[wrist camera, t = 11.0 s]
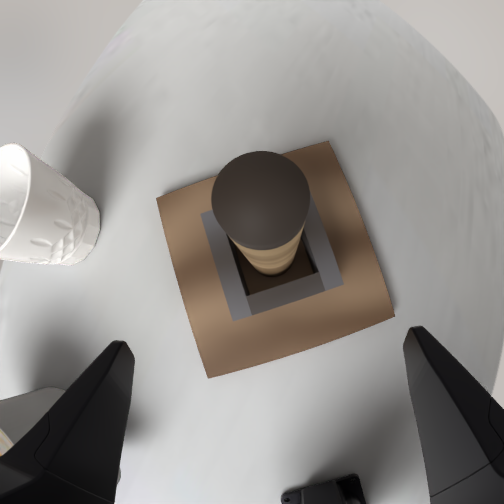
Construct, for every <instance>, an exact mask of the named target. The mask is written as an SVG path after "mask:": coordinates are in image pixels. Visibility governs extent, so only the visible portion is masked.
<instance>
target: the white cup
mask: <svg viewBox="0 0 504 504" xmlns="http://www.w3.org/2000/svg"><path fill="white" fill-rule="evenodd" d="M99 231H100V212H99V210H98V208H97V206H96V204H95V202H94V200H93V199H92V198H91V197H89V196H88V195H86V194H85V193H83V192H82V191H81V190H79V189H78V188H77V187H76V186H75V185H74V183H72V182H71V181H69V180H68V179H67V178H66V177H64V176H63V175H61V174H60V173H59V172H58V171H56V170H55V169H54V168H52V167H51V166H49V165H48V164H46V163H45V162H43V161H42V160H41V159H39V158H38V157H36V156H35V155H34V154H32V153H31V152H30V151H28V150H27V149H26V148H24V147H23V146H22V145H20V144H17V143H9V144H6V145H3V146H1V147H0V259H2V260H10V261H17V262H23V263H34V264H45V265H48V264H60V265H69V266H72V265H74V264H76V263H78V262H80V261H82V260H84V259H85V258H86V256H87V255H88V254H89V253H90V251H91V250H92V249H93V248H94V246H95V243H96V240H97V237H98V234H99Z"/></svg>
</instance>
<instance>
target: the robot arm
mask: <svg viewBox="0 0 504 504" xmlns="http://www.w3.org/2000/svg"><path fill="white" fill-rule="evenodd" d="M403 351H404V357H405V363H406V370H407V377H408V385H409V391H410V396H411V400H412V404H413V408H414V413H415V417H416V422H417V426H418V431H419V436H420V441H421V446H422V451H423V457H424V462H425V468H426V474H427V480H428V487H429V494H430V502H431V504H504V409H503V408H502V407H501V406H500V405H499V404H498V403H497V402H496V401H495V400H494V398H493V397H491V395H490V394H489V393H488V392H487V391H486V390H485V389H484V388H483V387H482V386H481V385H480V383H479V382H478V381H477V380H476V379H475V378H474V377H473V376H472V375H471V374H470V373H469V372H468V371H467V370H466V369H465V368H464V367H463V366H462V365H461V364H460V363H459V362H458V361H457V360H456V359H455V358H454V357H453V356H452V355H451V354H450V353H449V351H448V350H447V349H446V348H445V347H444V346H443V345H441V344H440V343H439V342H438V341H437V340H436V339H435V338H434V337H433V336H432V335H431V334H430V333H429V332H428V331H427V330H426V329H425V328H424V327H423V326H414V327H411V328H410V329H409V330H408V333H407V336H406V338H405V341H404V344H403ZM134 364H135V358H134V355H133V353H132V351H131V350H130V348H129V346H128V345H127V343H126V342H125V341H118V340H115V341H113V342H111V343H110V344H109V345H108V346H107V347H106V349H105V350H104V351H103V352H102V353H101V354H100V355H99V356H98V357H97V358H96V359H95V360H94V361H93V362H92V363H91V364H90V365H89V366H88V368H87V369H86V370H85V371H84V372H83V373H82V374H81V375H80V376H79V377H78V378H77V379H76V380H75V382H74V383H73V384H72V385H71V386H70V387H69V388H68V389H67V390H66V391H65V392H64V393H63V395H62V396H61V397H60V398H59V399H58V400H57V401H56V402H55V403H54V404H53V406H52V407H51V408H50V409H49V411H47V412H46V413H45V414H44V415H43V417H42V418H41V419H40V420H39V421H38V422H37V423H36V424H35V425H34V426H33V427H32V428H31V429H30V430H29V431H28V432H27V433H26V434H25V435H24V436H23V437H22V438H21V439H20V440H19V441H18V442H16V443H15V444H14V445H13V446H12V447H11V448H10V449H9V450H8V451H7V452H6V453H4V454H3V455H2V456H0V504H114V502H115V495H116V487H117V480H118V473H119V466H120V460H121V453H122V447H123V441H124V436H125V430H126V425H127V419H128V414H129V409H130V403H131V395H132V384H133V374H134ZM354 478H355V480H354V481H351V479H354ZM285 498H289V499H288V500H286V499H285ZM281 503H282V504H366V502H365V498H364V494H363V491H362V487H361V483H360V479H359V477H358V475H357V474H351V475H348V476H345V477H342V478H339V479H336V480H331V481H327V482H324V483H321V484H317V485H314V486H310V487H306V488H303V489H301V490H297V491H293V492H289V493H285V494H283V495H282V496H281Z"/></svg>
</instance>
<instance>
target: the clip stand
mask: <svg viewBox="0 0 504 504" xmlns="http://www.w3.org/2000/svg"><path fill="white" fill-rule="evenodd" d="M281 155H282V156H284V157H286V158H288V159H290V160H291V161H293V162H294V163H295V164H296V165H297V166H298V167H299V168H300V169H301V171H302V172H303V174H304V175H305V177H306V179H307V182H308V185H309V189H310V206H309V210H308V214H307V217H306V220H305V224H304V227H303V231H302V234H301V237H300V241H299V244H298V247H297V251H296V254H295V257H294V261H293V263H292V266H291V267H290V269H289V270H288V271H287V272H286V273H284V274H283V275H280V276H277V277H267V276H264V275H262V274H260V273H259V272H258V271H257V270H256V269H255V268H254V267H253V265H252V264H251V263H250V262H249V260H248V259H247V258H246V257H245V256H244V254H243V253H242V252H241V251H240V249H239V248H238V247H237V246H236V245H235V243H234V242H233V241H232V240H231V238H230V237H229V236H228V235H227V234H226V232H225V231H224V230H223V229H222V227H221V226H220V225H219V223H218V222H217V220H216V218H215V216H214V213H213V209H212V204H211V194H212V188H213V185H214V182H215V180H216V178H217V176H218V175H217V176H214V177H211V178H209V179H206V180H203V181H200V182H198V183H195V184H192V185H189V186H187V187H184V188H181V189H179V190H176V191H173V192H171V193H168V194H166V195H163V196H160V197H158V198H156V200H157V204H158V208H159V213H160V217H161V221H162V225H163V229H164V233H165V237H166V241H167V245H168V248H169V252H170V256H171V260H172V263H173V267H174V271H175V274H176V278H177V281H178V285H179V288H180V292H181V295H182V299H183V302H184V305H185V309H186V312H187V315H188V319H189V322H190V325H191V328H192V332H193V335H194V338H195V341H196V344H197V347H198V350H199V353H200V356H201V359H202V362H203V365H204V368H205V371H206V374H207V377H208V379H209V378H213V377H217V376H220V375H224V374H228V373H232V372H235V371H239V370H243V369H246V368H250V367H253V366H257V365H260V364H263V363H267V362H270V361H273V360H277V359H280V358H283V357H286V356H289V355H292V354H295V353H299V352H302V351H305V350H308V349H310V348H313V347H316V346H319V345H322V344H325V343H328V342H331V341H333V340H336V339H339V338H342V337H344V336H347V335H350V334H352V333H355V332H358V331H360V330H363V329H365V328H368V327H370V326H373V325H375V324H378V323H380V322H383V321H385V320H388V319H390V318H392V317H395V314H394V310H393V307H392V304H391V300H390V297H389V294H388V291H387V288H386V285H385V282H384V279H383V276H382V273H381V270H380V267H379V264H378V261H377V258H376V255H375V252H374V250H373V247H372V244H371V241H370V239H369V236H368V233H367V231H366V228H365V225H364V223H363V220H362V218H361V215H360V212H359V210H358V207H357V205H356V202H355V200H354V197H353V195H352V193H351V190H350V188H349V185H348V183H347V181H346V178H345V176H344V174H343V171H342V169H341V167H340V165H339V162H338V160H337V158H336V156H335V154H334V151H333V149H332V147H331V145H330V143H329V141H326V142H322V143H319V144H315V145H312V146H308V147H305V148H301V149H298V150H294V151H291V152H288V153H284V154H281Z"/></svg>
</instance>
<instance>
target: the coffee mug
mask: <svg viewBox="0 0 504 504" xmlns="http://www.w3.org/2000/svg"><path fill="white" fill-rule="evenodd" d="M64 392H65V390H63V389H60V388H56V387H46V388H42V389H39V390H35V391H32V392H28V393H25V394H22V395H18V396H14V397H11V398H7V399H4V400H0V456H2V455H3V454H4V453H6V452H7V451H8V450H9V449H10V448H11V447H12V446H13V445H14V444H15V443H16V442H18V441H19V440H20V439H21V438H22V437H23V436H24V435H25V434H26V433H27V432H28V431H29V430H30V429H31V428H32V427H33V426H34V425H35V424H36V423H37V422H38V421H39V420H40V419H41V418H42V417H43V415H44V414H45V413H46V412H47V411H49V409H50V408H51V407H52V406H53V404H54V403H55V402H56V401H57V400H58V399H59V398H60V397H61V396H62V395H63V393H64ZM120 478H121V470H120V466H119V473H118V480H117V484H118V482H119V481H120Z"/></svg>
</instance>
